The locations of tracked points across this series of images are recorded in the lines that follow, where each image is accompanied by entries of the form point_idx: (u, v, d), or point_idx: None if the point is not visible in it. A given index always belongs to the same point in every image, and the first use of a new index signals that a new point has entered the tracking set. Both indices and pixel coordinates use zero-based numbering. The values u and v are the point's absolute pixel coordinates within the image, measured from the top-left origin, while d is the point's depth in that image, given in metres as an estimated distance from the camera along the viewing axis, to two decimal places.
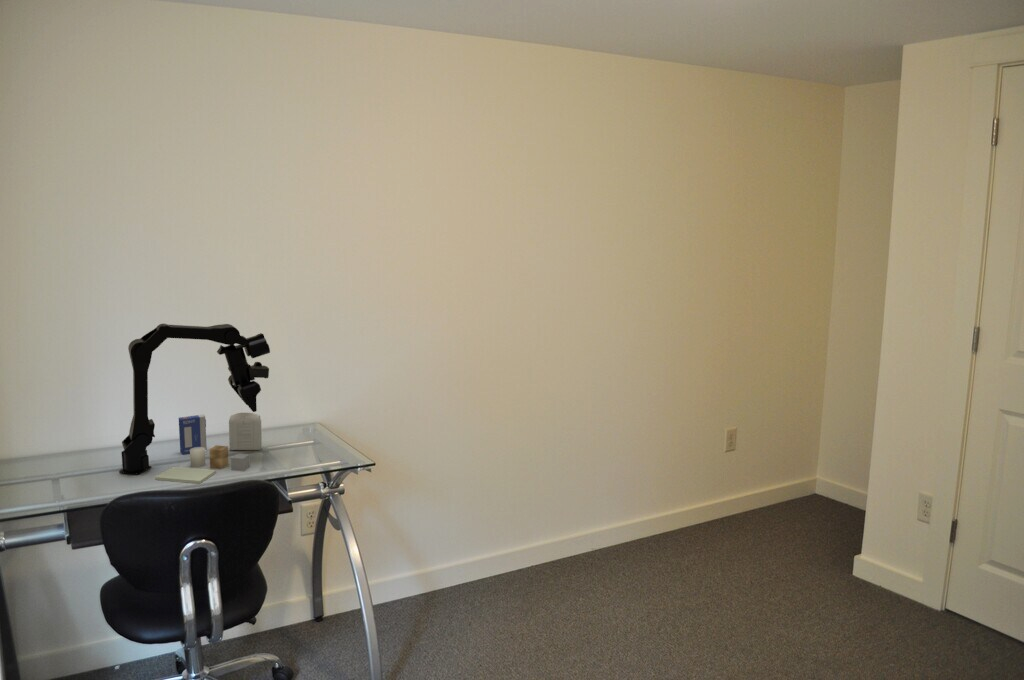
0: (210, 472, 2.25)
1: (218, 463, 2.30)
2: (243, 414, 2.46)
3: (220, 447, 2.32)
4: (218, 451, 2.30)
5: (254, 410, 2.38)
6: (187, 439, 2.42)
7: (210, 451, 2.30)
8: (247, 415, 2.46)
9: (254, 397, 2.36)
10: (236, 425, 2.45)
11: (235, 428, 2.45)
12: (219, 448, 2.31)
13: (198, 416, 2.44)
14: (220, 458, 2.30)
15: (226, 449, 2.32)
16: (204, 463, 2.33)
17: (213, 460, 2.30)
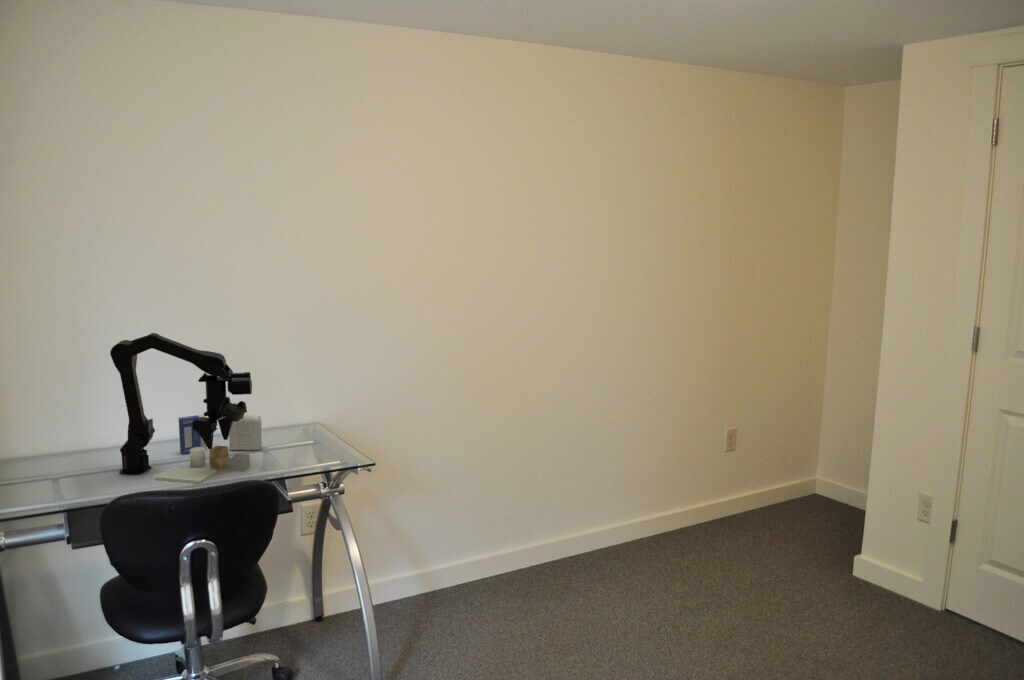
0: (210, 472, 2.25)
1: (218, 463, 2.30)
2: None
3: (220, 447, 2.32)
4: (218, 451, 2.30)
5: (209, 447, 2.26)
6: (187, 439, 2.42)
7: (210, 451, 2.30)
8: (247, 415, 2.46)
9: (209, 434, 2.24)
10: (236, 425, 2.45)
11: (235, 428, 2.45)
12: (219, 448, 2.31)
13: (198, 416, 2.44)
14: (220, 458, 2.30)
15: (226, 449, 2.32)
16: (204, 463, 2.33)
17: (213, 460, 2.30)
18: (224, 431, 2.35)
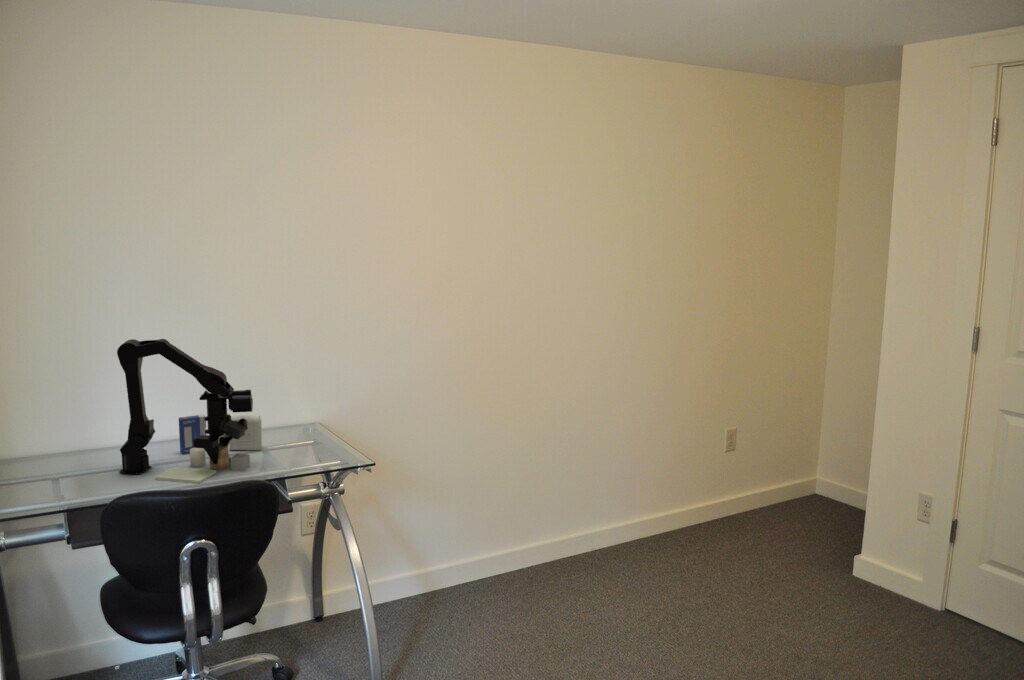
0: (210, 472, 2.25)
1: (218, 463, 2.30)
2: (243, 414, 2.46)
3: (220, 447, 2.32)
4: None
5: (214, 462, 2.30)
6: (187, 439, 2.42)
7: None
8: (247, 415, 2.46)
9: (214, 450, 2.28)
10: None
11: None
12: (219, 448, 2.31)
13: (198, 416, 2.44)
14: (220, 458, 2.30)
15: (226, 449, 2.32)
16: (204, 463, 2.33)
17: None
18: None
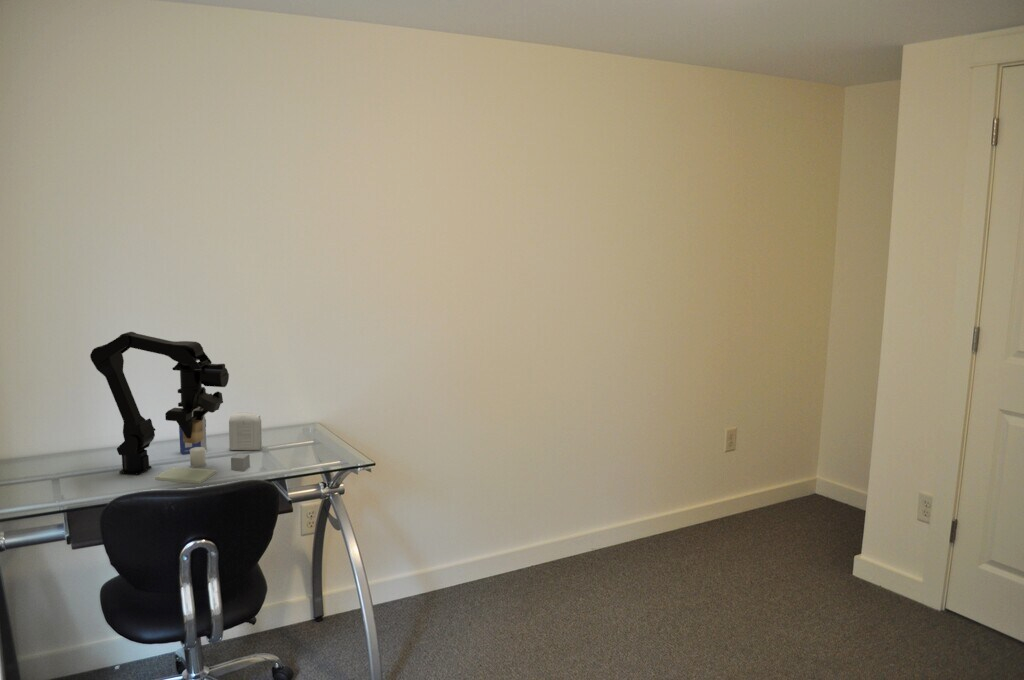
0: (210, 472, 2.25)
1: (192, 437, 2.22)
2: (243, 414, 2.46)
3: (194, 421, 2.23)
4: (192, 425, 2.21)
5: (188, 436, 2.21)
6: None
7: None
8: (247, 415, 2.46)
9: (188, 423, 2.19)
10: (236, 425, 2.45)
11: (235, 428, 2.45)
12: (193, 421, 2.23)
13: None
14: (194, 432, 2.21)
15: (200, 423, 2.24)
16: (204, 463, 2.33)
17: None
18: None
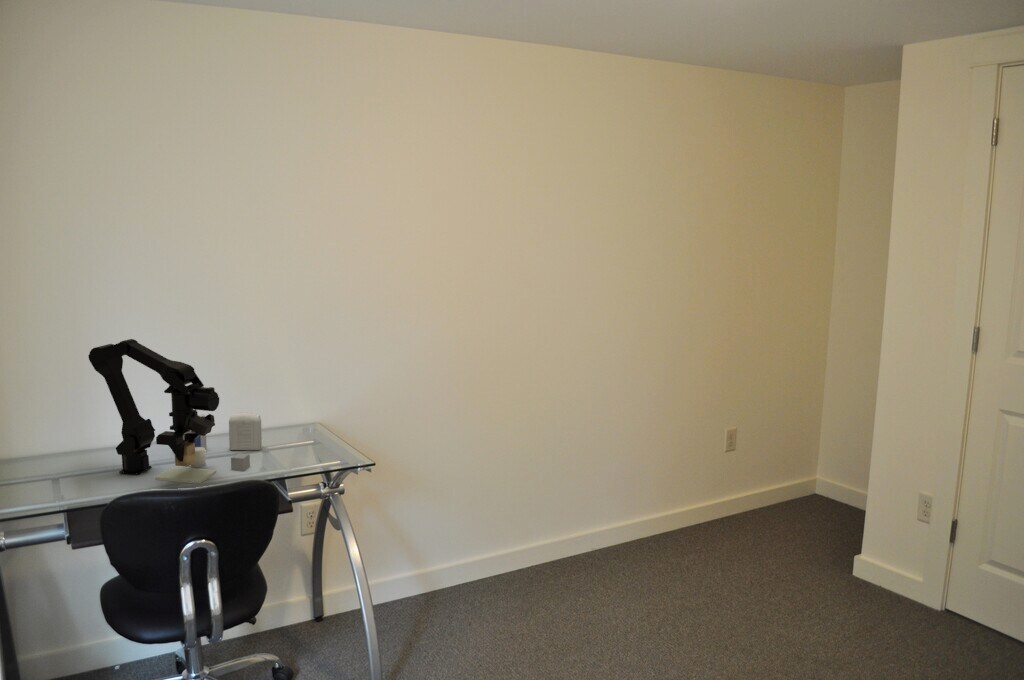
0: (210, 472, 2.25)
1: (184, 460, 2.20)
2: (243, 414, 2.46)
3: (186, 444, 2.22)
4: None
5: (180, 460, 2.20)
6: None
7: None
8: (247, 415, 2.46)
9: (179, 447, 2.18)
10: (236, 425, 2.45)
11: (235, 428, 2.45)
12: (185, 444, 2.21)
13: None
14: (186, 455, 2.20)
15: (192, 446, 2.23)
16: (204, 463, 2.33)
17: None
18: None
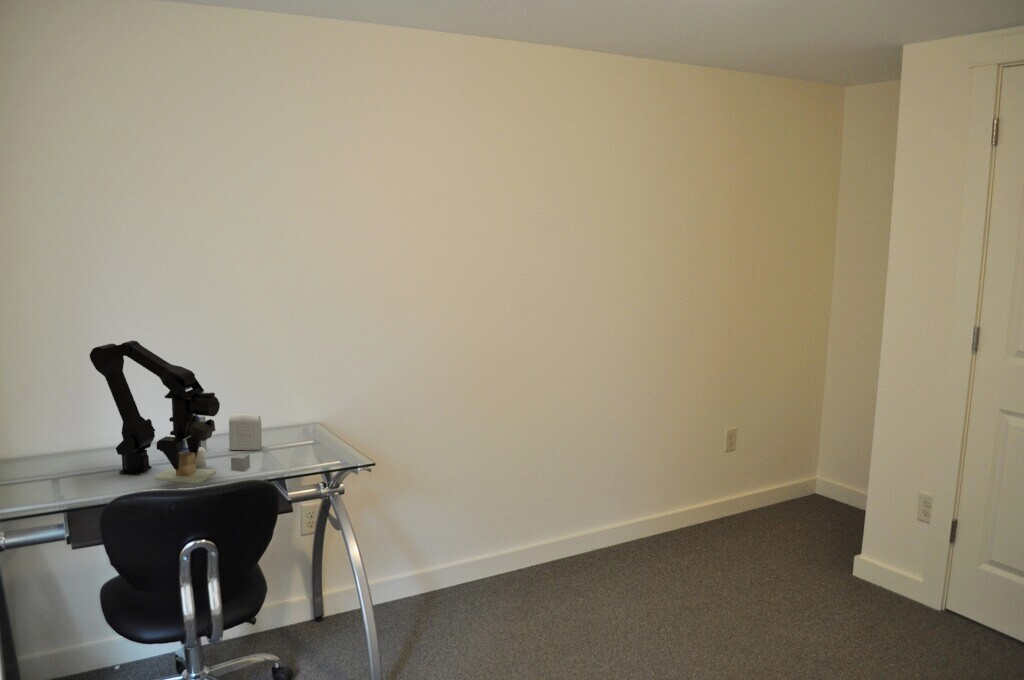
0: (210, 472, 2.25)
1: (184, 470, 2.21)
2: (243, 414, 2.46)
3: (187, 454, 2.23)
4: (184, 458, 2.20)
5: (175, 468, 2.18)
6: None
7: None
8: (247, 415, 2.46)
9: (175, 455, 2.16)
10: (236, 425, 2.45)
11: (235, 428, 2.45)
12: (185, 454, 2.22)
13: (198, 416, 2.44)
14: (186, 465, 2.21)
15: (193, 456, 2.23)
16: (204, 463, 2.33)
17: (179, 467, 2.21)
18: (192, 450, 2.27)
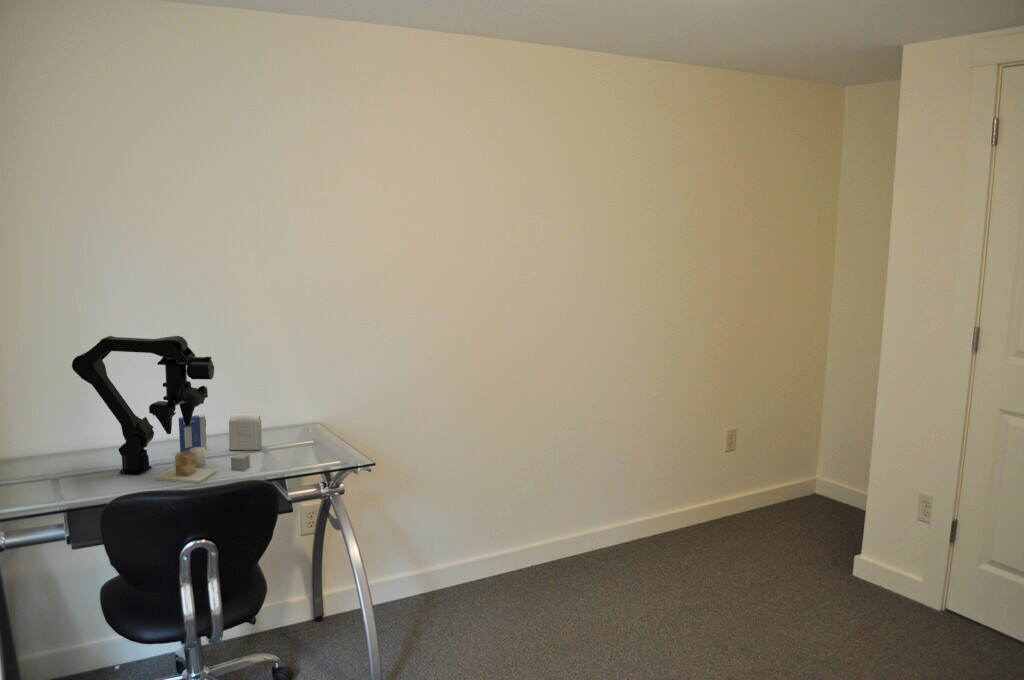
0: (210, 472, 2.25)
1: (184, 470, 2.21)
2: (243, 414, 2.46)
3: (187, 454, 2.23)
4: (184, 458, 2.20)
5: (168, 432, 2.21)
6: (187, 439, 2.42)
7: (176, 458, 2.21)
8: (247, 415, 2.46)
9: (167, 419, 2.19)
10: (236, 425, 2.45)
11: (235, 428, 2.45)
12: (185, 454, 2.22)
13: (198, 416, 2.44)
14: (186, 465, 2.21)
15: (193, 456, 2.23)
16: (204, 463, 2.33)
17: (179, 467, 2.21)
18: (186, 416, 2.30)
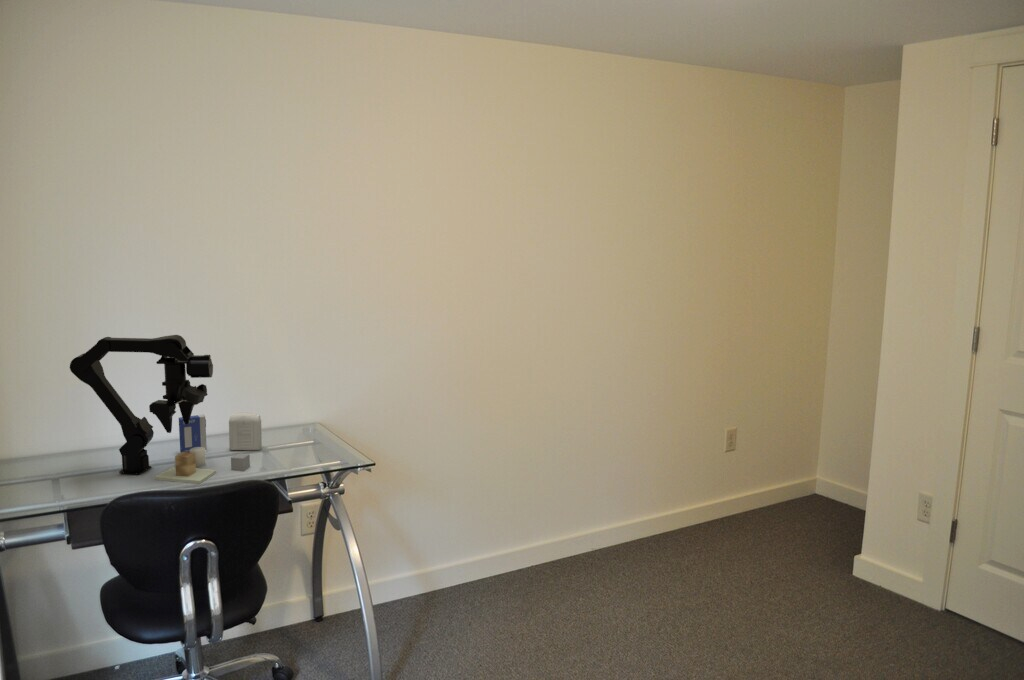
0: (210, 472, 2.25)
1: (184, 470, 2.21)
2: (243, 414, 2.46)
3: (187, 454, 2.23)
4: (184, 458, 2.20)
5: (168, 431, 2.22)
6: (187, 439, 2.42)
7: (176, 458, 2.21)
8: (247, 415, 2.46)
9: (168, 418, 2.20)
10: (236, 425, 2.45)
11: (235, 428, 2.45)
12: (185, 454, 2.22)
13: (198, 416, 2.44)
14: (186, 465, 2.21)
15: (193, 456, 2.23)
16: (204, 463, 2.33)
17: (179, 467, 2.21)
18: (185, 415, 2.31)
